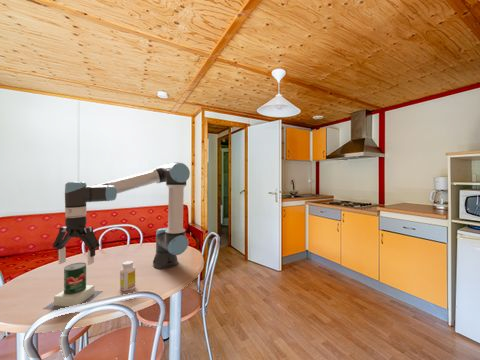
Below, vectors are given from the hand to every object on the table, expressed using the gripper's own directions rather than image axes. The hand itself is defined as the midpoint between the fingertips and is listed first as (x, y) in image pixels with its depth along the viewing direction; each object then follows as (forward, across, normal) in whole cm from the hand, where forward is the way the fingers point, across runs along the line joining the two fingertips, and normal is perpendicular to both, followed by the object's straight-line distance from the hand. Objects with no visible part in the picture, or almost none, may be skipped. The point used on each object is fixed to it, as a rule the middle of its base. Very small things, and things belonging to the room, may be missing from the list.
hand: (76, 263), depth 93 cm
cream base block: (+16, 0, 0) cm, 16 cm away
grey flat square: (+16, 0, 0) cm, 16 cm away
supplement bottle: (+17, +17, +12) cm, 26 cm away
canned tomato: (+12, 0, 0) cm, 12 cm away
